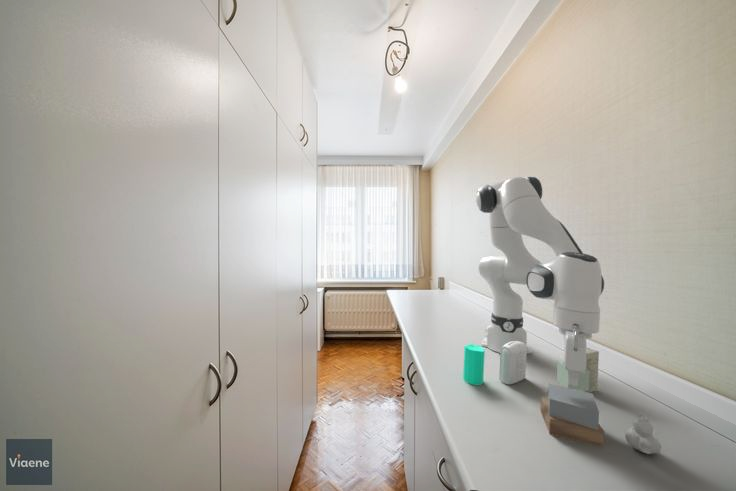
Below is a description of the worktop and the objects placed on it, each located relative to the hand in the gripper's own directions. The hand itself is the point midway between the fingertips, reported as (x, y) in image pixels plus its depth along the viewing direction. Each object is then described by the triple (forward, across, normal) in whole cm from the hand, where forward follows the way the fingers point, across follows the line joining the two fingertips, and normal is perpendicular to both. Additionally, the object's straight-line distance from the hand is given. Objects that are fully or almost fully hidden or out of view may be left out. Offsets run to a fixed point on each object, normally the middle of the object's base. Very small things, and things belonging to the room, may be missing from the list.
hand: (572, 377), depth 67 cm
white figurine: (+12, 0, -13) cm, 18 cm away
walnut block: (+12, 0, 0) cm, 13 cm away
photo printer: (+12, +18, +15) cm, 26 cm away
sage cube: (+2, 0, 0) cm, 2 cm away
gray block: (+8, 0, 0) cm, 9 cm away
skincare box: (+12, +26, -4) cm, 29 cm away
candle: (+12, +9, +25) cm, 29 cm away
